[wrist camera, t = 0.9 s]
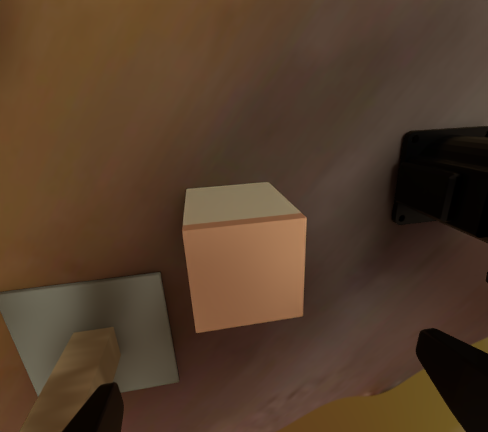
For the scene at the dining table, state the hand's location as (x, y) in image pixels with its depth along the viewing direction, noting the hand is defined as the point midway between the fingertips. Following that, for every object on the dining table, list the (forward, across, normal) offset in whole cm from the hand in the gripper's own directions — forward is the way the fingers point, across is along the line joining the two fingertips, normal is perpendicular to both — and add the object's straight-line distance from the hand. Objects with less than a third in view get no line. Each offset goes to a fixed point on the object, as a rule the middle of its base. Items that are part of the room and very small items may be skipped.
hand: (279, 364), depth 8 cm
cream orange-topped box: (+11, 0, 0) cm, 11 cm away
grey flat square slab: (+11, +10, +8) cm, 17 cm away
